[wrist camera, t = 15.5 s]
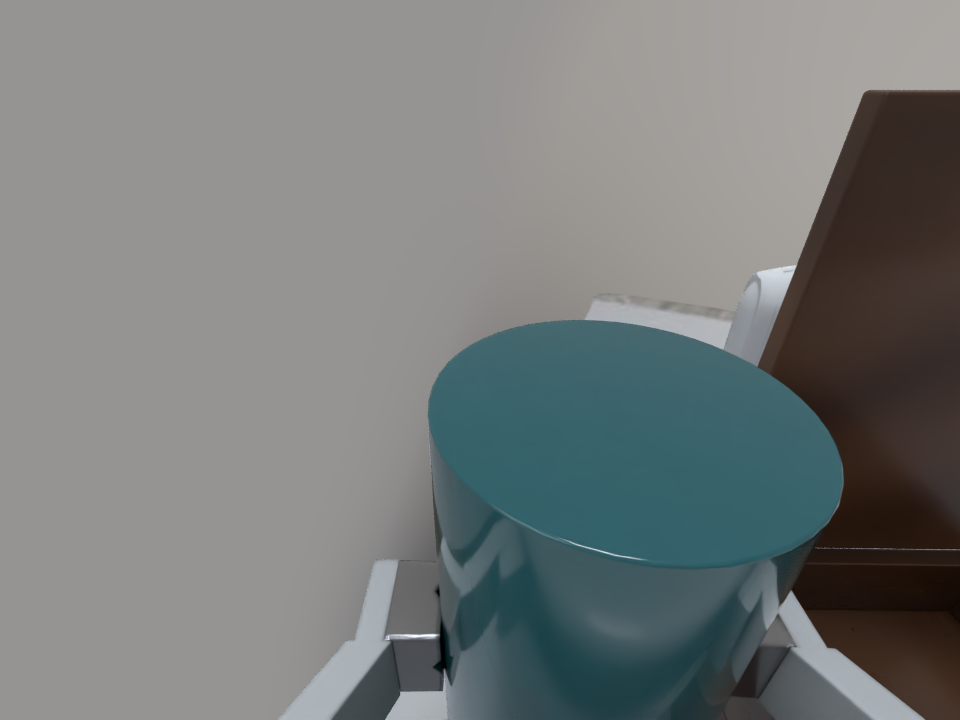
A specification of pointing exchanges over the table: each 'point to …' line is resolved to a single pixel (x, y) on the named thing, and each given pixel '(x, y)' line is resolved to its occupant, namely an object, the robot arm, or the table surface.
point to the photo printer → (758, 313)
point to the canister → (616, 520)
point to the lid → (885, 323)
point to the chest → (885, 623)
